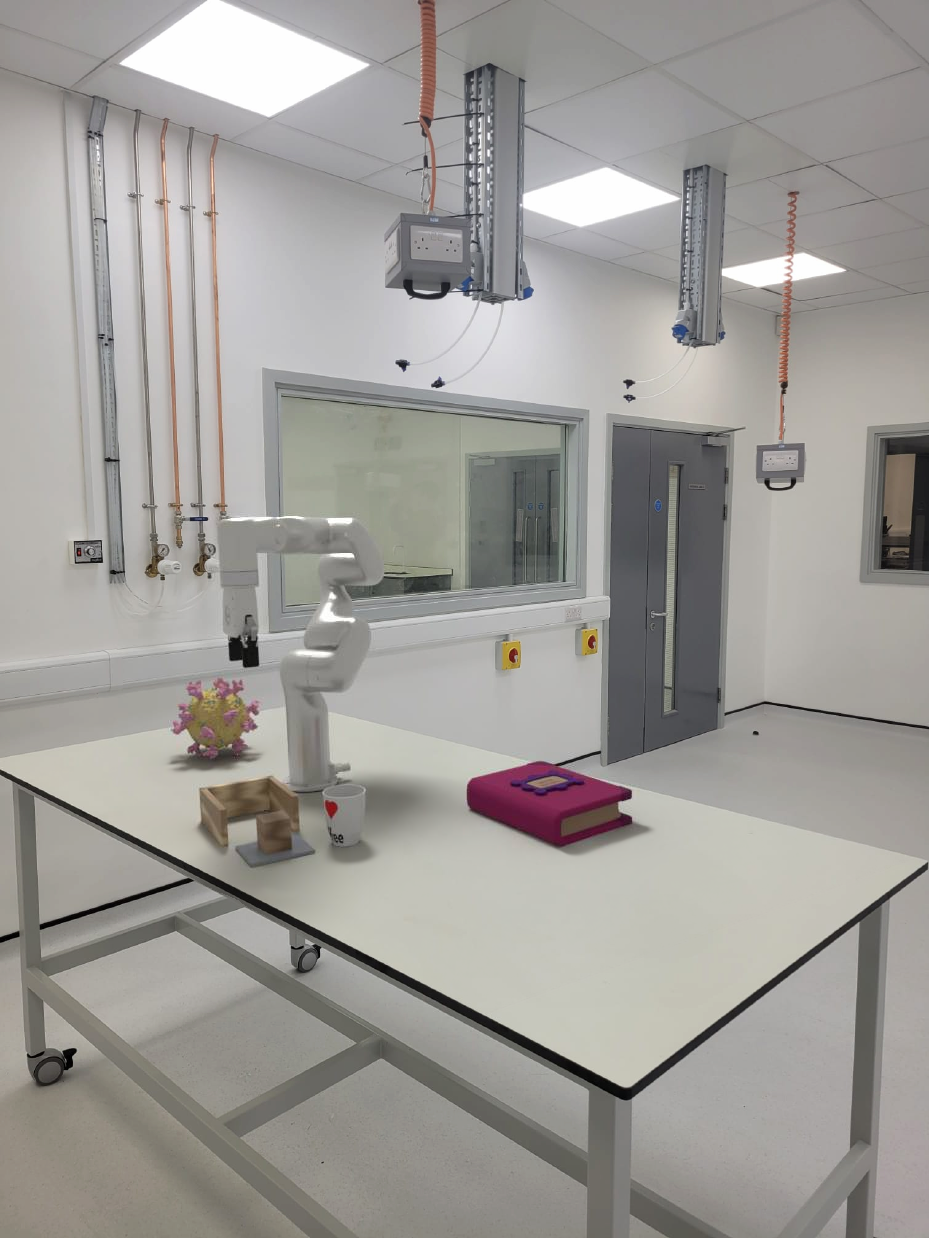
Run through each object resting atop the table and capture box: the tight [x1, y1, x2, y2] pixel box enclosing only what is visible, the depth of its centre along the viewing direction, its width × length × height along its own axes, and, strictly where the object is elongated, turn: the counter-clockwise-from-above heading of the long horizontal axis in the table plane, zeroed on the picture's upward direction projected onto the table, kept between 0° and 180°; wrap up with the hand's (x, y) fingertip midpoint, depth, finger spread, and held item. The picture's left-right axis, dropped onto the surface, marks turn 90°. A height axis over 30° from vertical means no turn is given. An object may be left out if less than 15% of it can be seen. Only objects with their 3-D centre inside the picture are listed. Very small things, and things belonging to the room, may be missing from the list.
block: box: [255, 811, 292, 855], centre depth 162 cm, size 5×5×6 cm
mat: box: [235, 832, 316, 868], centre depth 162 cm, size 12×10×1 cm
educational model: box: [169, 677, 261, 760], centre depth 228 cm, size 23×22×20 cm
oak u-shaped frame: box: [198, 775, 301, 847], centre depth 176 cm, size 15×16×7 cm
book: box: [466, 760, 633, 848], centre depth 178 cm, size 21×28×8 cm
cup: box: [322, 784, 367, 848], centre depth 166 cm, size 8×8×10 cm
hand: (244, 663), depth 177 cm, fingers open, 9 cm apart
